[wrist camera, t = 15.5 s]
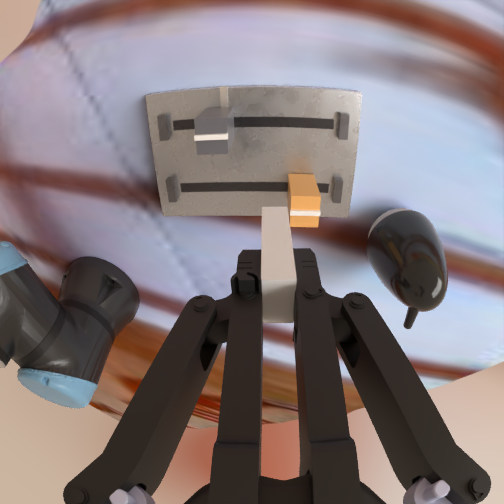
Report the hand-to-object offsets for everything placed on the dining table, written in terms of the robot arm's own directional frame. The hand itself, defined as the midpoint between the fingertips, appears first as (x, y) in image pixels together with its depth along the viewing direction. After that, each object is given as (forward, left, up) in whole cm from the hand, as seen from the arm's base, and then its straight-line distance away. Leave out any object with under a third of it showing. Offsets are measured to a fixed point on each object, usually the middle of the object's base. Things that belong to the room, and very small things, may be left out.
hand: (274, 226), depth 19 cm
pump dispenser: (+18, -12, -20) cm, 29 cm away
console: (-2, -1, -20) cm, 20 cm away
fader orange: (+3, -5, -18) cm, 19 cm away
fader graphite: (-6, +3, -18) cm, 19 cm away
